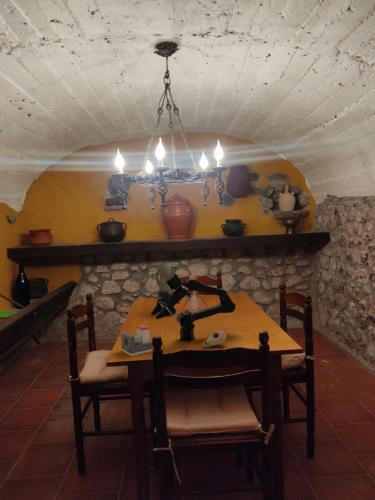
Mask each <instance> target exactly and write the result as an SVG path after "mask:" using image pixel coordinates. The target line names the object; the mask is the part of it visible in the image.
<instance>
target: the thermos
mask: <svg viewBox="0 0 375 500" xmlns="http://www.w3.org/2000/svg"><path fill="white" fill-rule="evenodd" d="M172 273H173V274H176V272H175V270H174V268H172V265H171V262H169V261H162V262H160V263H159V269H157V271H156V284H157V286H158V287H159V289H160V290H162V291H163V292H164V291H167V292H169V293H173V290H171V289H170V287H169V286H168V285H167V284H166V282H165V280H166V279H167V278H168V277H169V276H171V275H173V274H172ZM159 275H160V276H159ZM159 289H158V290H159ZM169 293H168V294H169ZM161 298H162V297H161ZM173 316H174V315H172V314H171V315H170V316H166V317H165V318H169V317H173Z"/></svg>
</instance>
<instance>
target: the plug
mask: <svg viewBox="0 0 375 500" xmlns="http://www.w3.org/2000/svg"><path fill="white" fill-rule="evenodd" d="M136 334H137V335H134V336H135V343H137V342H138V345H140V344H144V343H149V342H151V340H150V327H149V326H148V325H146V324H139V325H136Z"/></svg>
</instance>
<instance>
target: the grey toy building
mask: <svg viewBox="0 0 375 500" xmlns="http://www.w3.org/2000/svg"><path fill="white" fill-rule="evenodd" d="M135 336H136V335H134V334H133V335H132V334H131V333H129V332H127V331H123V332H121V350H122V349H123V350H125V351H127V352H129V353H130V354H133V353H137V352H141V351H145V350H150V349H153V347H152V342H153V341H150V342H149V343H144V344H140V345H138V342H137V343H135Z"/></svg>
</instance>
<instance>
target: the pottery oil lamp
mask: <svg viewBox="0 0 375 500" xmlns="http://www.w3.org/2000/svg"><path fill="white" fill-rule="evenodd" d="M226 339H227V334H226V333H225V332H224V330H215V331H213V332H212V333H210V334H209V336H208V338H207V339H205V340H204V341H203V342H202V347H203V348H211V347H214V346H218V345H221V344H223V343H225V342H226V341H227V340H226Z"/></svg>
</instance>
